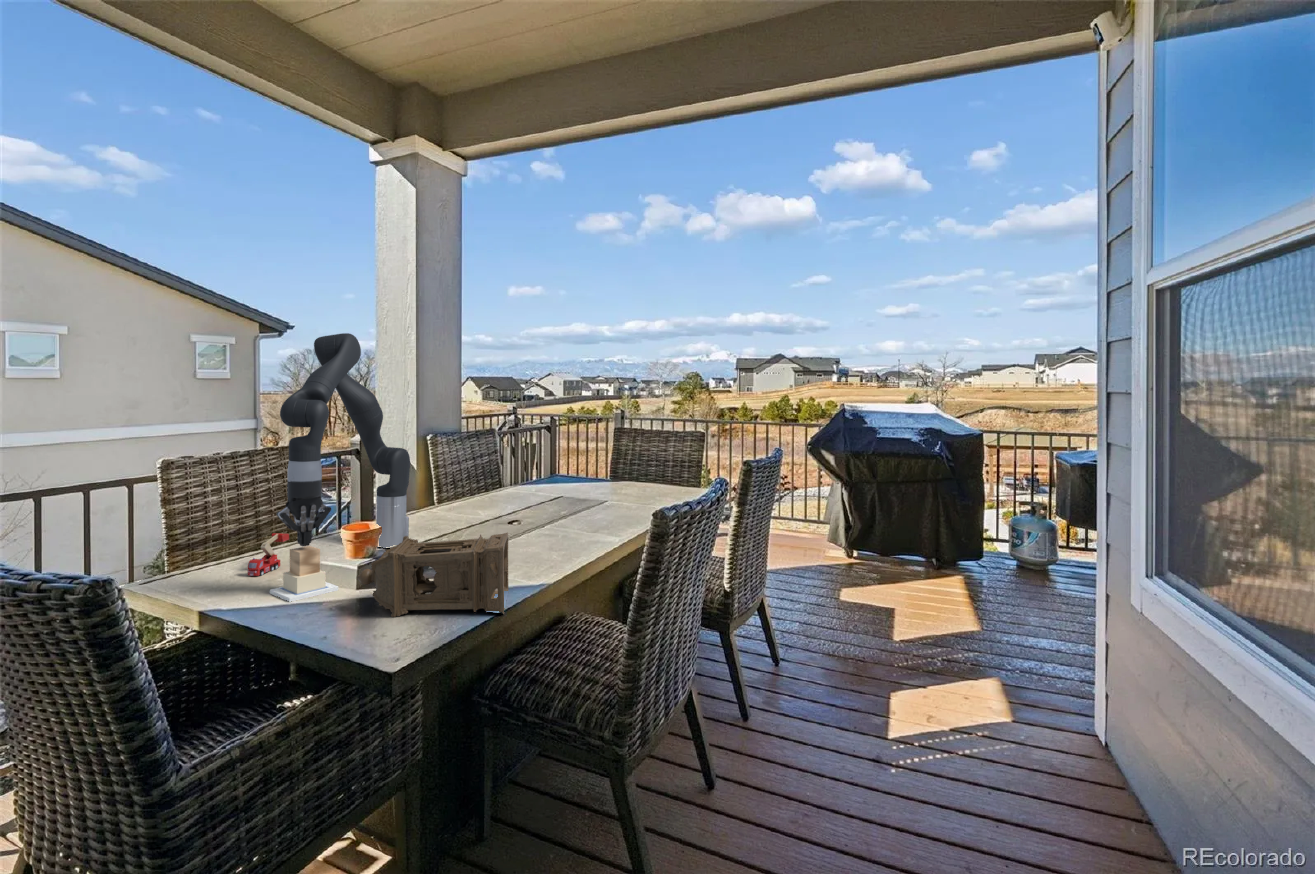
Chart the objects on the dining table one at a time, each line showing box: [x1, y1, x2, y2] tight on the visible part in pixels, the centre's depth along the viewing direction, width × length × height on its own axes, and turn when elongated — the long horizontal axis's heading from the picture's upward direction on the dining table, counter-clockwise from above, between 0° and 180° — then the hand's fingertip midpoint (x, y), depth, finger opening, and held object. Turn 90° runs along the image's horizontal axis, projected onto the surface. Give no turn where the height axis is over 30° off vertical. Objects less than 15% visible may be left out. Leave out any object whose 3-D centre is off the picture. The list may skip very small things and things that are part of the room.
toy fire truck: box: [247, 532, 290, 577], centre depth 171 cm, size 3×14×10 cm, turn 179°
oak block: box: [289, 545, 321, 576], centre depth 154 cm, size 5×5×6 cm
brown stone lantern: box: [356, 532, 509, 618], centre depth 148 cm, size 35×18×18 cm, turn 99°
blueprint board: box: [269, 569, 339, 603], centre depth 155 cm, size 12×10×5 cm
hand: (304, 545), depth 154 cm, fingers closed
